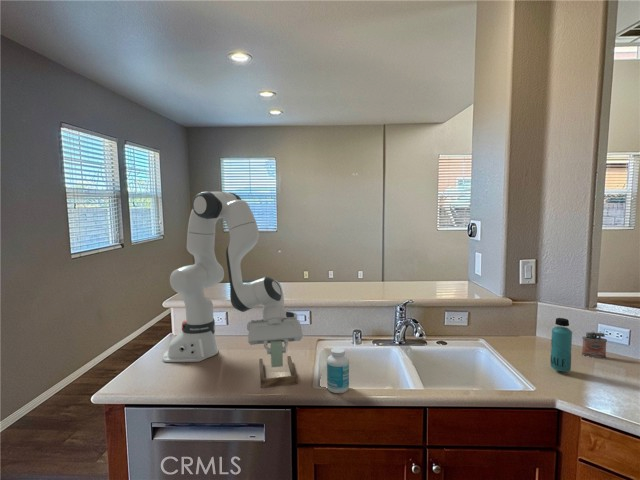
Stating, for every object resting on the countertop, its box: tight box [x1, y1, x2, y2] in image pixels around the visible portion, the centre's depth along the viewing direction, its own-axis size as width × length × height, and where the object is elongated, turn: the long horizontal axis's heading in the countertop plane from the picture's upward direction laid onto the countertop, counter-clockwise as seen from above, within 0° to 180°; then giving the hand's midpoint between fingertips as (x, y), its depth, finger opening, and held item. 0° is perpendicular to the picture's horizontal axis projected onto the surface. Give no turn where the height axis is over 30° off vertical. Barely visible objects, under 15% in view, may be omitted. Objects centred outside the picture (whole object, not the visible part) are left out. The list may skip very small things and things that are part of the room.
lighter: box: [581, 331, 608, 359], centre depth 145 cm, size 8×3×10 cm, turn 68°
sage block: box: [270, 341, 284, 368], centre depth 130 cm, size 4×4×8 cm
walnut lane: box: [258, 355, 298, 388], centre depth 134 cm, size 12×19×2 cm, turn 11°
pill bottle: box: [326, 347, 350, 394], centre depth 121 cm, size 8×7×14 cm
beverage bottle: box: [549, 317, 573, 372], centre depth 131 cm, size 6×7×20 cm
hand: (276, 353), depth 130 cm, fingers closed on sage block, 4 cm apart
